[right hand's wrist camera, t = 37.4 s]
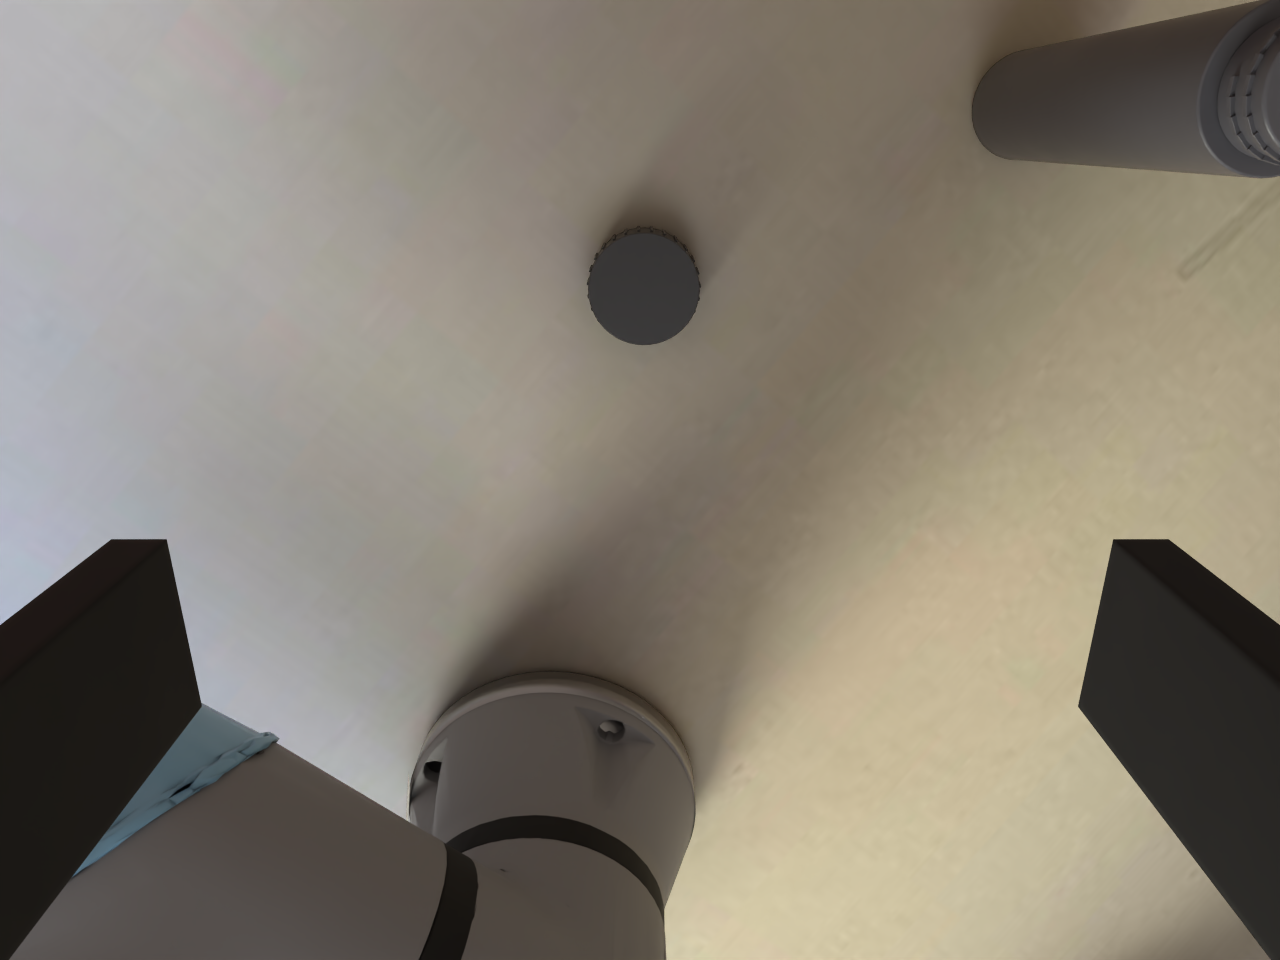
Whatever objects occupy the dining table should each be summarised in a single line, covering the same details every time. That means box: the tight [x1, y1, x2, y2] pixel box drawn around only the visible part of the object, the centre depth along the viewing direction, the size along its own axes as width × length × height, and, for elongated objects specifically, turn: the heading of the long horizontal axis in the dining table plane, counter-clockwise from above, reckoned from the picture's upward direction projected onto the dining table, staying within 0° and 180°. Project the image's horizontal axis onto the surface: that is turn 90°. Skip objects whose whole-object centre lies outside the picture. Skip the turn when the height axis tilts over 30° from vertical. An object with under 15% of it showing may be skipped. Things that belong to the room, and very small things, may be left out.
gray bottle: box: [972, 0, 1280, 178], centre depth 29 cm, size 4×4×18 cm
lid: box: [587, 226, 701, 345], centre depth 39 cm, size 5×5×2 cm
